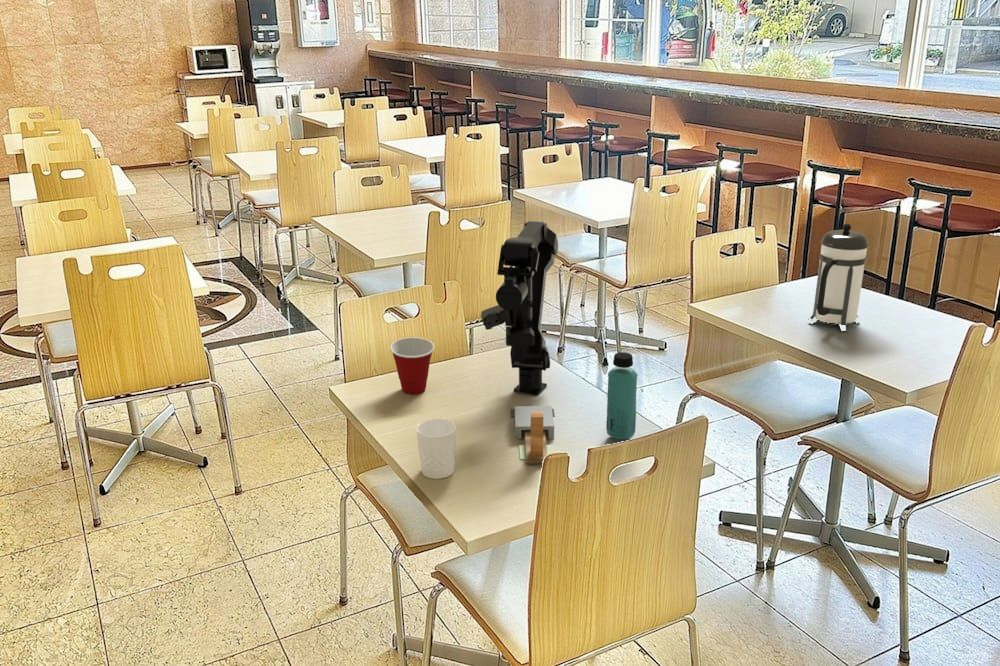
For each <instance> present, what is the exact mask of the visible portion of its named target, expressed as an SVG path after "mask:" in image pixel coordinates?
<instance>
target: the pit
mask: <svg viewBox="0 0 1000 666" xmlns="http://www.w3.org/2000/svg"><path fill="white" fill-rule="evenodd" d="M552 413H553V418H555V417H556V416H555V410H554V408H552ZM510 418H513V419H515V408H511V409H510Z"/></svg>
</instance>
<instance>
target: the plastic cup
mask: <svg viewBox="0 0 1000 666" xmlns="http://www.w3.org/2000/svg"><path fill="white" fill-rule="evenodd" d="M435 346H436V345H435V344H434V343H433V342H432V341H431V340H429V339H426V338H422V337H414V336H413V337H411V336H409V337H403V338H399V339H397V340H394V341H392V343H391V344H390V346H389V350H390V351H391V352H392V356H393V359H394V363H395V367H396V371H397V375H398V379H399V381H400V382H399V383H400V386H401V389H402V392H403V393H404V394H407V395H421V394H422V393H424V392H425V391H426V389H427V382H428V377H429V371H430V370H429V369H430V363H431V357H432V354H433V352H434V350H435Z"/></svg>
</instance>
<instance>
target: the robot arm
mask: <svg viewBox="0 0 1000 666" xmlns="http://www.w3.org/2000/svg"><path fill="white" fill-rule="evenodd" d="M558 252H559V240H558V237H557V234H556V232H554V231H553V230H551V229H550V227H548V224H547V223H546V222H544V221H534V220H533V221H531V220H530V221H525V223H524V228H523V229H522V230H521V231H520V233H519V234H518V235H517V236H516V237H510V238H508V239H507V238H506V239H505V241H504V243H503V244H502V245H501V247H500V251H499V258H498V266H497V276H504V277H503V282H502V283H501V285H500V286H499V288H498V289H497V290H496V294H495V301H496V303H497V304H498V305H495V306H491V307H489V308H486V309H484V310H482V311H481V313H480V318H481V320H482V323H483V324H482V325H483V326H484V328H485V330H487V331H488V330H491V329H493V328H495V327H498V326H500V325H503V324H504V326H505V346H508V347H510V351H509V352H510V353H509V354H510V363H511V368H512V369H514V368H515V369H518V384H517V385H516V386H515V387H514V388H513V392H515V393H516V392H517V393H521V394H527V395H532V396H539V395H540V394H541V393H542V392H543V391H544V389H546V387H547V386H548V384H547V383H544V382H543V371H547V369H550V368H551V358H550V353H549V350H548V348H547V346H546V340H545V337H544V336H543V333H542V331H541V326H542V318H543V309H544V308H543V307H544V300H545V299H544V298H545V289H546V288H545V287H546V281H547V273H548V271H549V270H550V269H551V267H552V266H553V265H554V263H555V259H556V256H558V255H557V254H558Z"/></svg>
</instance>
